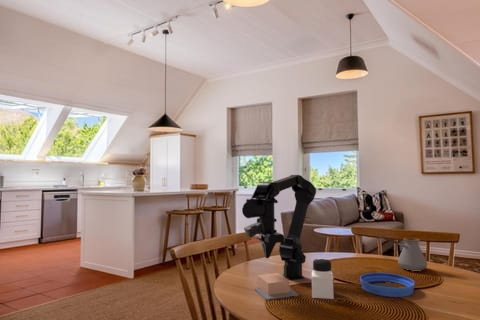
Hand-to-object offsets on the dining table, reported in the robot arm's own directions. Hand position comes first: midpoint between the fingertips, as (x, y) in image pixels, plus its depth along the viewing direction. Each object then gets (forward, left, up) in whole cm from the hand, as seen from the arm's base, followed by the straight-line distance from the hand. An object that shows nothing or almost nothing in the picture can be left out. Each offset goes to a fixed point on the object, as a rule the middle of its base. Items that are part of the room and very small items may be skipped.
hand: (267, 258), depth 128 cm
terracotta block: (0, 0, -8) cm, 8 cm away
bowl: (-39, +17, -11) cm, 44 cm away
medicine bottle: (-14, +15, -11) cm, 23 cm away
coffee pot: (-62, 0, -11) cm, 63 cm away
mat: (0, +7, -10) cm, 13 cm away
